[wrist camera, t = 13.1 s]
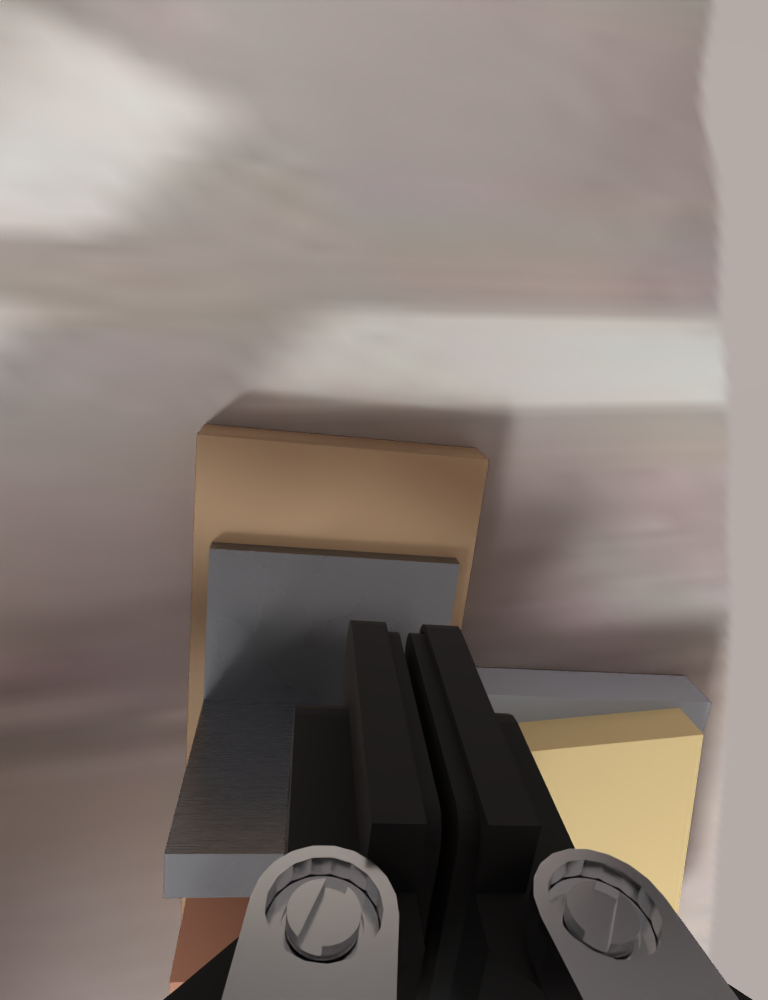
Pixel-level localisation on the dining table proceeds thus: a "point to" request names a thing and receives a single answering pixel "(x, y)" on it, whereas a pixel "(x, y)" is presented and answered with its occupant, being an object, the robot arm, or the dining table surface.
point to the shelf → (327, 507)
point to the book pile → (614, 759)
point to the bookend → (277, 690)
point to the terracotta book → (205, 933)
